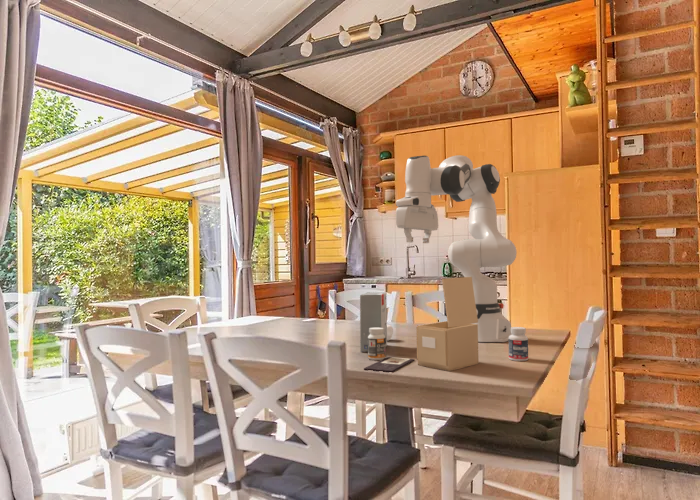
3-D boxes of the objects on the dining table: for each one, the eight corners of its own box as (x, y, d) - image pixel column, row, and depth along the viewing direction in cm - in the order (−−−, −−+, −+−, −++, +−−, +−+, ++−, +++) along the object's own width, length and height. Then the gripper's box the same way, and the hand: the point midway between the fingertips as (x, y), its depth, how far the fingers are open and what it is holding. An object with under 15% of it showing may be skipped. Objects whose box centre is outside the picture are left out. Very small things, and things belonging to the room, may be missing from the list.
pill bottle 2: (512, 361, 163) (511, 329, 163) (506, 357, 169) (505, 326, 169) (531, 361, 163) (530, 329, 163) (524, 357, 169) (524, 326, 169)
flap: (476, 322, 161) (470, 276, 162) (478, 322, 160) (471, 276, 162) (448, 327, 152) (441, 278, 153) (449, 327, 152) (443, 278, 153)
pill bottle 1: (380, 361, 168) (380, 329, 168) (365, 359, 170) (364, 328, 171) (388, 358, 172) (388, 327, 172) (373, 356, 175) (372, 326, 175)
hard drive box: (381, 352, 182) (380, 294, 182) (359, 352, 183) (358, 295, 183) (387, 345, 197) (386, 291, 197) (367, 344, 198) (366, 291, 198)
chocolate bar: (363, 368, 155) (388, 357, 171) (363, 371, 155) (388, 360, 171) (391, 371, 151) (414, 359, 167) (392, 374, 151) (414, 362, 167)
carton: (447, 357, 170) (446, 320, 171) (479, 363, 161) (478, 324, 161) (415, 365, 161) (414, 325, 161) (447, 371, 151) (447, 329, 151)
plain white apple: (373, 341, 205) (373, 321, 205) (378, 338, 212) (377, 318, 212) (391, 342, 203) (391, 321, 203) (395, 339, 210) (394, 319, 210)
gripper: (427, 205, 191) (427, 243, 190) (392, 200, 175) (392, 242, 175) (442, 204, 186) (442, 243, 186) (408, 199, 171) (408, 241, 171)
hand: (418, 242), depth 180 cm, fingers open, 8 cm apart
